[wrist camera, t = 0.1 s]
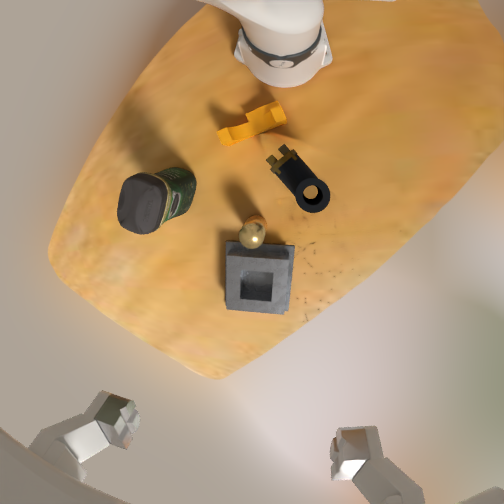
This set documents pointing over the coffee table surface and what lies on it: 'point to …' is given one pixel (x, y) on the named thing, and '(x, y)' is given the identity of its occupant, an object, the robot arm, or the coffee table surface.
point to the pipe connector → (299, 180)
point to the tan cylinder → (253, 232)
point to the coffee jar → (154, 199)
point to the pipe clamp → (254, 124)
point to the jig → (258, 277)
